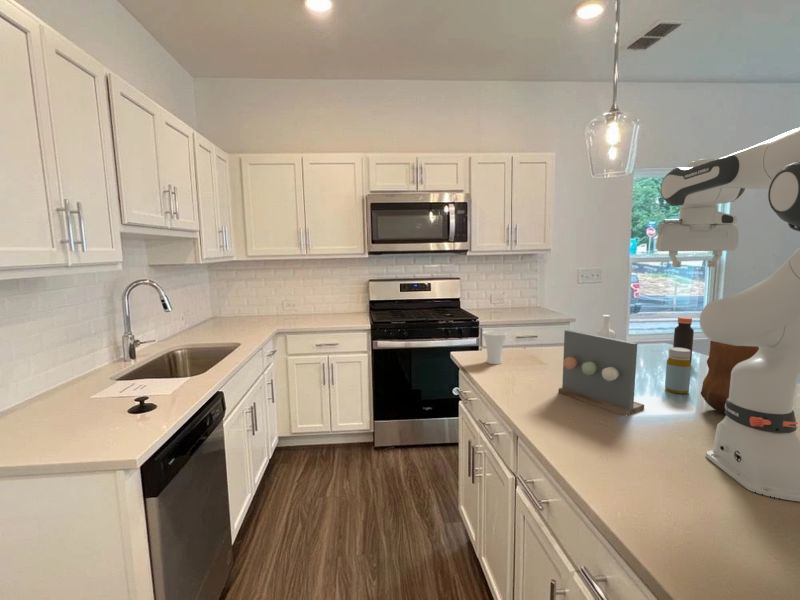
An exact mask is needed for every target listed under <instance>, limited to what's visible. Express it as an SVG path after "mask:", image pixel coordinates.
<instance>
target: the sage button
mask: <svg viewBox="0 0 800 600" xmlns="http://www.w3.org/2000/svg"><path fill="white" fill-rule="evenodd" d="M597 370H598V367H597V365H596V363H594V362H592V361H590V362H586V363H583V365H582V371H583V372H584V373H585V374H586V375H591V374H595V373H596V372H597Z"/></svg>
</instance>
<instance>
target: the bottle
mask: <svg viewBox="0 0 800 600" xmlns="http://www.w3.org/2000/svg"><path fill="white" fill-rule="evenodd" d="M690 353H691V351H690V350H689V349H686V348H679V347H673V346H672V347H669V349H668V358H667V359H666V366H665V380H664V389H665V390H666V391H667V392H669V393H672V394H676V393H678V395H685V394H686V395H687V394H688V393H689V391H690V383H691V371H692V361H691V362H690Z"/></svg>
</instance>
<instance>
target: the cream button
mask: <svg viewBox="0 0 800 600" xmlns="http://www.w3.org/2000/svg"><path fill="white" fill-rule="evenodd" d="M602 376H603V378H604V379H605V380H607V381H612V380H615V379H617V378H618V377H619V372H618V370H617V369H616V368H615V367H608V368H604V369H603V370H602Z"/></svg>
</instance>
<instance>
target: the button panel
mask: <svg viewBox="0 0 800 600" xmlns="http://www.w3.org/2000/svg"><path fill="white" fill-rule="evenodd" d="M563 339H564V341H563V361H564V359H565V358H568V357H575V358H576V359H577V360H578V367H577V368H574V369H570V370H569V369H567V368H565V366H564V363H563V362H562V363H563V364H562V384H561V385H562V387H559V388H558V393H559V394H562V395H565V396H566V397H570V398H573V399H576V400H579V401H581V402H584V403H586V404H587V403H588V405H589V404H590V405H593V406H595V407H597V408H601V409H603V408H604V409H603V410H607V411H610V412H613V413H615V412H616V413H615V414H617V413H618V415H620V414H621V415H620V416H623V415H624V416H623V417H627V416H630V415H633V414H635V412H636V413H638V412H641V411H644V410H645V404H643V403H641V402H638V401H637V402H636V401H635V389H636V388H635V387H636V373H637V372H636V370H637V369H636V368H637V356H638V354H637V353H638V342H634V341H629V340H624V339H617V338H616V339H614V338H608V337H603V336H598V335H597V334H591V333H587V332H583V331H578V330H571V329H566V330H564V337H563ZM590 361H592V362H594V363H596V365H597V367H598V370H597V372H596V373H595V374H591V375H586V374H585V373H584V372H583V371H582V365H583V363H586V362H590ZM608 367H615V368H616V369H617V370H618V372H619V377H618V378H617V379H615V380H612V381H607V380H605V379H604V378H603V376H602V370H603V369H604V368H608ZM643 409H644V410H643ZM640 410H641V411H640ZM637 411H638V412H637ZM632 413H633V414H632ZM629 414H630V415H629ZM626 415H627V416H626Z"/></svg>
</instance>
